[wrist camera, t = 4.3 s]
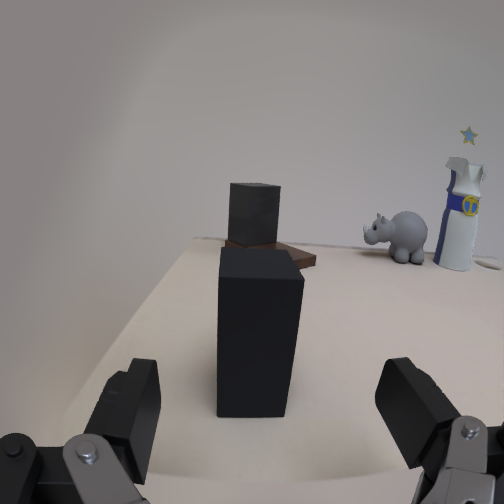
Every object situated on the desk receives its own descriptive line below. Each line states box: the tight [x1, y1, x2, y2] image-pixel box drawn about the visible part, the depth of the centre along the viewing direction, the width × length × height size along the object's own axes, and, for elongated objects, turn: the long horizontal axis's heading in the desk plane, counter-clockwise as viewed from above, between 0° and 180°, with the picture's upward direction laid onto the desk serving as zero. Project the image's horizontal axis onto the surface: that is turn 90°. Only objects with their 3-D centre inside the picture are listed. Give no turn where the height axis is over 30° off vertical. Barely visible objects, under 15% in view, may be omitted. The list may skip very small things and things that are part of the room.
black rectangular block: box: [217, 247, 305, 417], centre depth 18 cm, size 4×5×9 cm
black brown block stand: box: [225, 183, 316, 269], centre depth 47 cm, size 7×13×10 cm, turn 39°
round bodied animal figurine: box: [363, 211, 428, 264], centre depth 51 cm, size 7×12×8 cm, turn 84°
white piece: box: [433, 126, 487, 271], centre depth 47 cm, size 8×9×25 cm
